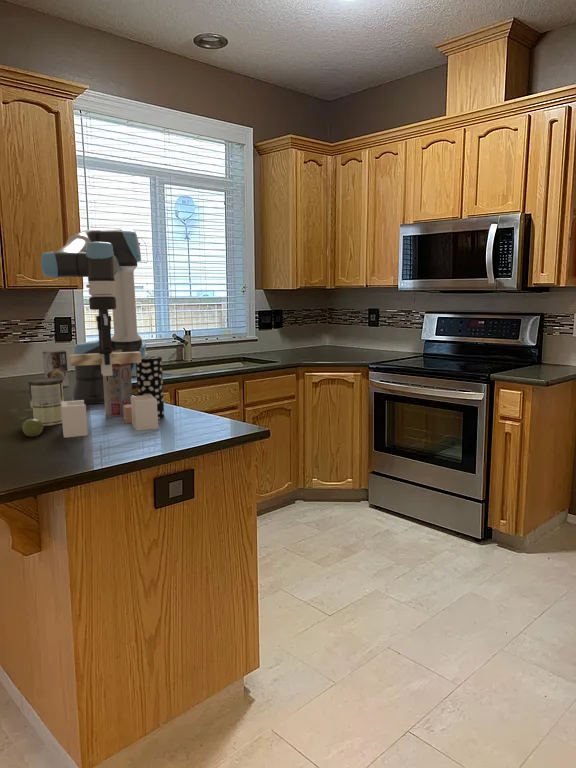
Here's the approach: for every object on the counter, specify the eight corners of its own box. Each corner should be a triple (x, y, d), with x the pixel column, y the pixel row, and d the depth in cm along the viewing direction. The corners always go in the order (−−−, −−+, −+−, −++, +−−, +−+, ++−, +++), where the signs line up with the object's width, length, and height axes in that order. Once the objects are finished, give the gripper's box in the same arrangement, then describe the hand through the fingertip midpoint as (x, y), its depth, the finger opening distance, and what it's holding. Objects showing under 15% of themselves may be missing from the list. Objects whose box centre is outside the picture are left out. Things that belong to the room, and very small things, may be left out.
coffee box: (66, 384, 270) (63, 349, 267) (69, 386, 264) (66, 351, 262) (45, 386, 265) (42, 351, 262) (47, 388, 260) (45, 352, 257)
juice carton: (133, 412, 204) (129, 349, 201) (122, 416, 198) (118, 351, 194) (116, 411, 206) (113, 349, 203) (105, 415, 200) (101, 351, 196)
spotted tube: (134, 417, 196) (130, 358, 193) (155, 413, 201) (152, 355, 198) (147, 421, 190) (144, 359, 187) (169, 417, 196) (166, 357, 192)
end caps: (63, 437, 169) (61, 407, 167) (62, 430, 177) (60, 401, 176) (158, 428, 179) (156, 399, 178) (152, 422, 188) (151, 394, 186)
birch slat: (70, 366, 169) (70, 355, 169) (70, 364, 173) (69, 354, 173) (141, 362, 177) (140, 352, 176) (139, 361, 181) (138, 351, 180)
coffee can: (25, 423, 189) (21, 380, 187) (55, 417, 197) (52, 376, 194) (41, 427, 182) (38, 382, 180) (72, 421, 190) (69, 378, 188)
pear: (20, 419, 167) (24, 418, 177) (21, 438, 167) (25, 436, 177) (41, 418, 169) (44, 417, 179) (43, 436, 169) (45, 434, 179)
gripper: (86, 296, 179) (91, 372, 182) (91, 295, 163) (96, 379, 166) (112, 296, 182) (116, 370, 185) (118, 295, 166) (123, 377, 169)
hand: (106, 374), depth 176 cm, fingers closed on birch slat, 4 cm apart
